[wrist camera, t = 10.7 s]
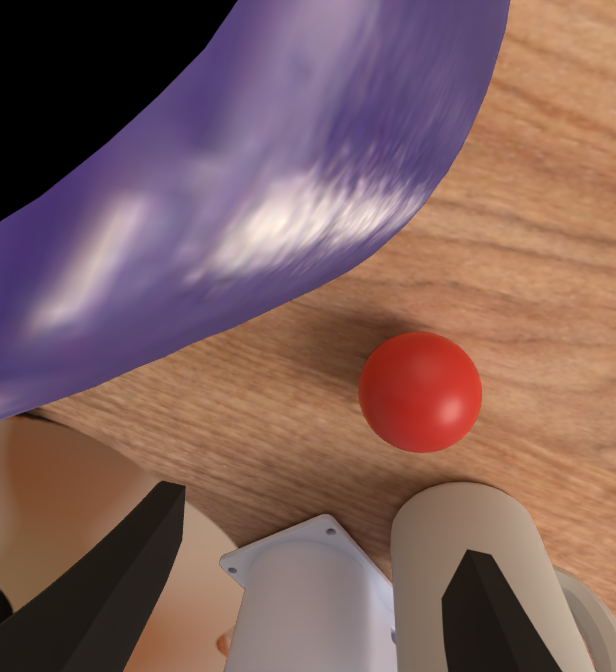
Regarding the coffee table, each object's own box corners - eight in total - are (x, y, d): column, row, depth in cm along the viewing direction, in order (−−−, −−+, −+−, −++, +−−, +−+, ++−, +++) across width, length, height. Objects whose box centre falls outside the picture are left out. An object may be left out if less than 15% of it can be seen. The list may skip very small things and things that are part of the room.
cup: (410, 463, 22) (435, 665, 14) (615, 507, 21) (761, 739, 13) (375, 558, 25) (379, 765, 17) (552, 597, 25) (639, 825, 17)
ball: (473, 359, 19) (522, 442, 16) (383, 407, 21) (408, 493, 17) (427, 288, 17) (471, 367, 13) (329, 347, 18) (344, 433, 15)
